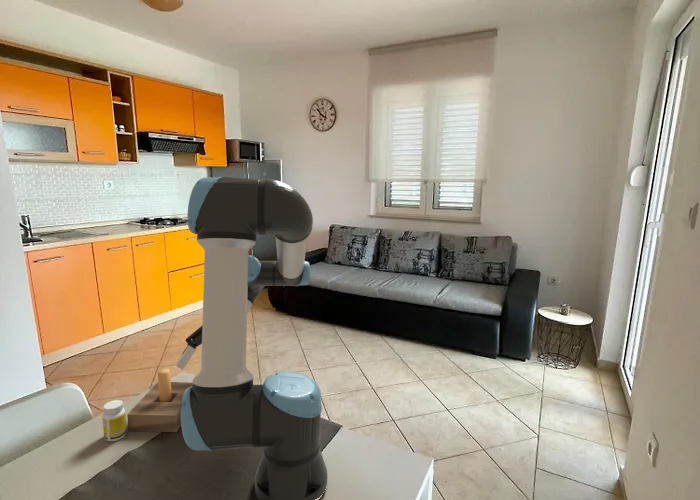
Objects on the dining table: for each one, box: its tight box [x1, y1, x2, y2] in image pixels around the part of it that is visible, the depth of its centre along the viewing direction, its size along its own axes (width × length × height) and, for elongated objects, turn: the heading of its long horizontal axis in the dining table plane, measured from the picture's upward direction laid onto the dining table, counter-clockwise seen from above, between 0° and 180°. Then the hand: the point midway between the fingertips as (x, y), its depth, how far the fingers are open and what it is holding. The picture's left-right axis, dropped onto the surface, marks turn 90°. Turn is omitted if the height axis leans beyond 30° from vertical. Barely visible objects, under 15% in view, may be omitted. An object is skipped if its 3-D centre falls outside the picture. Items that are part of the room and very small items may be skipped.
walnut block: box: [126, 381, 192, 433], centre depth 104 cm, size 16×12×4 cm
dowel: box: [157, 368, 172, 402], centre depth 103 cm, size 3×3×12 cm
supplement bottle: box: [102, 399, 128, 442], centre depth 93 cm, size 5×5×8 cm
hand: (193, 374), depth 110 cm, fingers open, 13 cm apart
